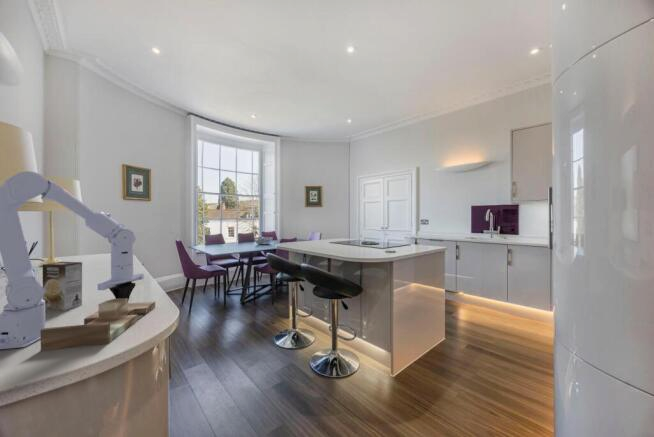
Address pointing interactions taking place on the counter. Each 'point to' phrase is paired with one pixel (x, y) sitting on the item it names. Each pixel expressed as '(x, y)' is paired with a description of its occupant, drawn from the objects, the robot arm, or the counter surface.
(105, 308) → the birch block
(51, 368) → the counter surface
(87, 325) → the board
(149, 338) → the counter surface
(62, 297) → the coffee box
